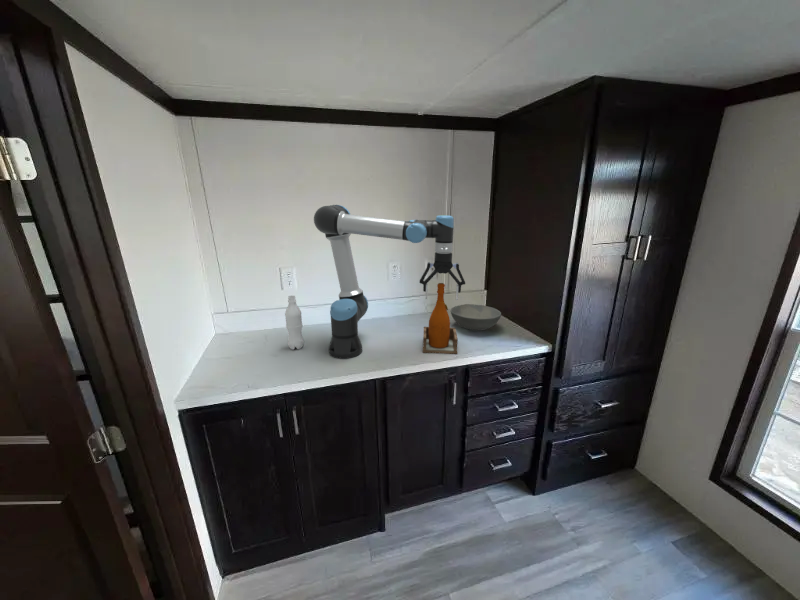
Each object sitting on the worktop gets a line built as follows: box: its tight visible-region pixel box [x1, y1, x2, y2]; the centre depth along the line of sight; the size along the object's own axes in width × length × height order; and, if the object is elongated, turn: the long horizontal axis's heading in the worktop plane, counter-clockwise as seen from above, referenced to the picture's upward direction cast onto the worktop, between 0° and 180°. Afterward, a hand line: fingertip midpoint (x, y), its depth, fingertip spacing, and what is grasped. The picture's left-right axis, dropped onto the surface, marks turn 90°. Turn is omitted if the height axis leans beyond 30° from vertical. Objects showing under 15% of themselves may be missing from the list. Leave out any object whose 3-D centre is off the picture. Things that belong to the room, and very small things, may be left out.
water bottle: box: [284, 295, 305, 351], centre depth 158 cm, size 7×7×25 cm
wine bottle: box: [428, 282, 451, 348], centre depth 158 cm, size 10×10×30 cm
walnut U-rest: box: [422, 326, 459, 355], centre depth 163 cm, size 16×16×7 cm
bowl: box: [450, 303, 502, 331], centre depth 185 cm, size 26×26×10 cm
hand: (441, 298), depth 156 cm, fingers open, 13 cm apart
